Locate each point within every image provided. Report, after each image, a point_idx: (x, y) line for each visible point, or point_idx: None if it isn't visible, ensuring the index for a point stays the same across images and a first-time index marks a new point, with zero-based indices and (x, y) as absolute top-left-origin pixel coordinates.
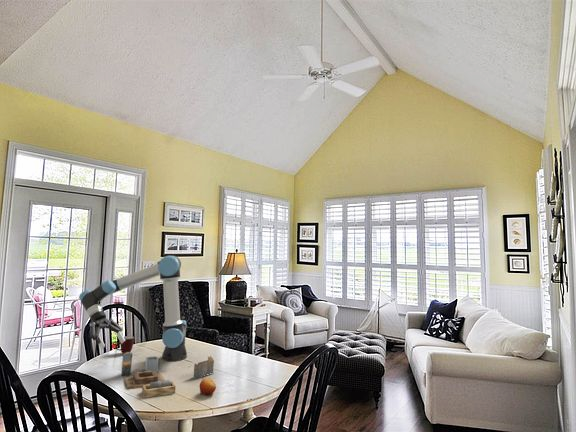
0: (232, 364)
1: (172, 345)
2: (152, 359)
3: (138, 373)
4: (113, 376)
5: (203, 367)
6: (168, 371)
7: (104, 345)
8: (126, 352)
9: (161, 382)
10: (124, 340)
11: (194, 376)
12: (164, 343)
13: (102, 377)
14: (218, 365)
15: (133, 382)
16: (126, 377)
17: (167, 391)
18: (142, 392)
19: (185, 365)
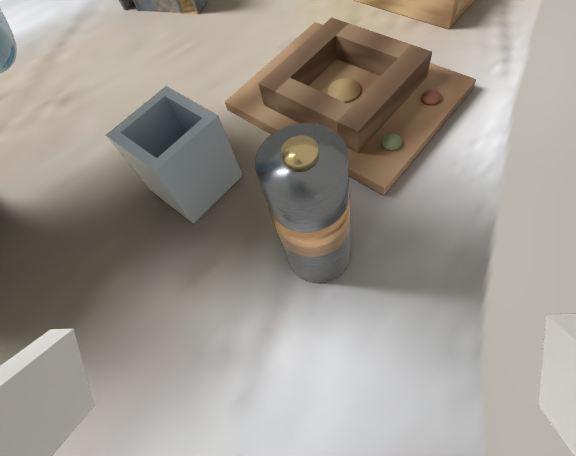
0: (12, 12)
1: (8, 24)
2: (184, 106)
3: (349, 105)
4: (392, 298)
5: None
6: None
7: (573, 322)
8: (301, 163)
9: None
10: (63, 331)
11: (199, 4)
12: (4, 39)
13: (461, 353)
14: (32, 34)
15: (411, 101)
16: (380, 180)
17: None
18: (455, 19)
19: (57, 118)
